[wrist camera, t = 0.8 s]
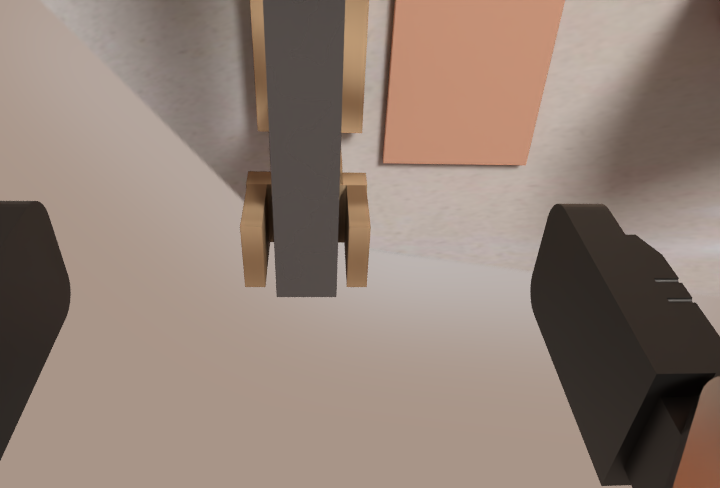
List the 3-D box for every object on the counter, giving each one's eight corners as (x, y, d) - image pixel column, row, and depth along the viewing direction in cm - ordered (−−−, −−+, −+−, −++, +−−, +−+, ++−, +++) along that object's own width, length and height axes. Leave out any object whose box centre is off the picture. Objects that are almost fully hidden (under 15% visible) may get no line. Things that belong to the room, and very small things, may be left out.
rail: (246, -526, 14) (235, -574, 12) (356, -516, 14) (363, -561, 12) (279, 259, 28) (276, 296, 26) (335, 260, 28) (336, 296, 26)
